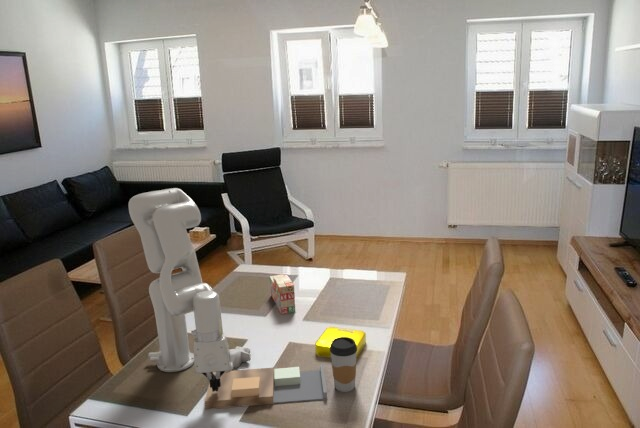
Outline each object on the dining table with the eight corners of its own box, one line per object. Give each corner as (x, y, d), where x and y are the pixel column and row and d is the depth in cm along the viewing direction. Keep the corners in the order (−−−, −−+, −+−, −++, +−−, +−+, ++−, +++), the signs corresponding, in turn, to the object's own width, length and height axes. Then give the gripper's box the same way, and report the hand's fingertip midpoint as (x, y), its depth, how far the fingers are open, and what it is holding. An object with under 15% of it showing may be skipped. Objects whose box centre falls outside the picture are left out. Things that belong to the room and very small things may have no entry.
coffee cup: (356, 378, 165) (355, 335, 161) (359, 393, 157) (358, 348, 153) (330, 379, 165) (328, 336, 161) (332, 395, 157) (330, 350, 153)
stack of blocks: (270, 295, 233) (268, 269, 230) (284, 293, 234) (282, 267, 231) (281, 314, 213) (279, 286, 210) (295, 312, 215) (294, 284, 212)
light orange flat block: (232, 397, 154) (231, 390, 153) (234, 386, 159) (233, 378, 159) (259, 395, 154) (258, 387, 153) (260, 383, 160) (259, 376, 159)
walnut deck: (205, 409, 153) (204, 401, 152) (212, 379, 168) (211, 372, 168) (273, 403, 154) (272, 396, 153) (274, 374, 169) (273, 367, 169)
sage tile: (274, 386, 162) (274, 379, 161) (274, 375, 168) (274, 368, 167) (300, 383, 163) (300, 376, 162) (299, 373, 168) (299, 366, 168)
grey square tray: (273, 403, 154) (272, 396, 153) (274, 374, 169) (273, 367, 169) (327, 399, 155) (326, 392, 154) (323, 370, 170) (322, 364, 170)
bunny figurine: (257, 345, 180) (232, 362, 167) (257, 359, 181) (232, 377, 168) (234, 341, 184) (208, 357, 171) (234, 355, 185) (208, 371, 172)
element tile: (367, 341, 188) (366, 329, 187) (355, 362, 175) (354, 349, 174) (328, 336, 194) (327, 324, 192) (313, 356, 180) (313, 343, 179)
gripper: (181, 341, 147) (188, 398, 152) (234, 337, 148) (239, 394, 153) (186, 329, 155) (192, 383, 159) (236, 325, 155) (241, 380, 160)
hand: (215, 388), depth 156 cm, fingers closed
